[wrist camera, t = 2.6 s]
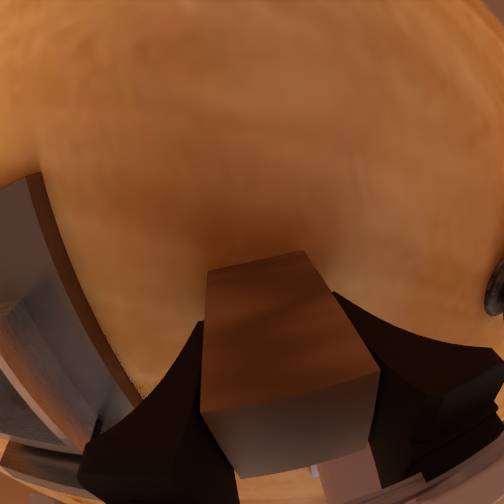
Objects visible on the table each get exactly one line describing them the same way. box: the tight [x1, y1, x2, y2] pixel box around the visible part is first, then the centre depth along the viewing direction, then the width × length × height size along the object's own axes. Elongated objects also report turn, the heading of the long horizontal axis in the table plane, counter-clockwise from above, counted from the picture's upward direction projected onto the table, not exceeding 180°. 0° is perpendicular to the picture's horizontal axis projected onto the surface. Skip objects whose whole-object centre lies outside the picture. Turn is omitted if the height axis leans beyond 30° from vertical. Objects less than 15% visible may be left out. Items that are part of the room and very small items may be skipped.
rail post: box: [200, 251, 381, 479], centre depth 10 cm, size 4×4×7 cm
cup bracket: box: [0, 172, 143, 501], centre depth 10 cm, size 14×18×6 cm
